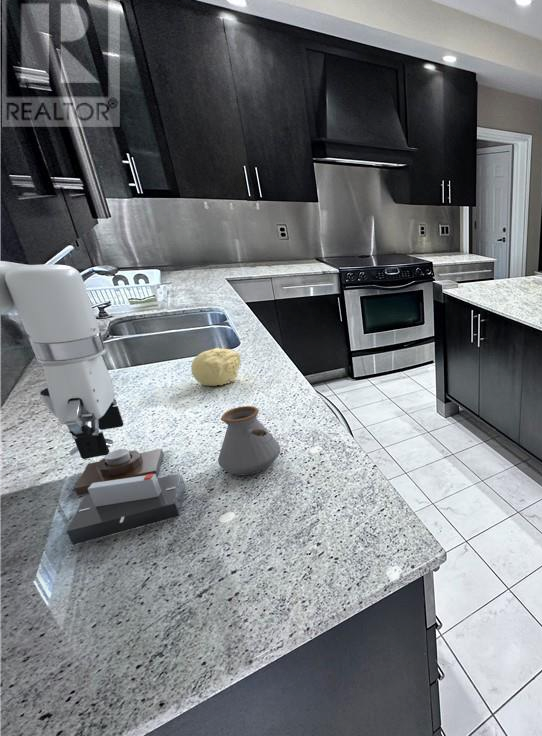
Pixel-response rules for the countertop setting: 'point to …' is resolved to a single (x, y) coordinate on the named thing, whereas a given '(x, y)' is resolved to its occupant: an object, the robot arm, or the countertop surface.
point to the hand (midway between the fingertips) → (104, 441)
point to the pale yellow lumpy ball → (216, 366)
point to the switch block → (120, 469)
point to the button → (117, 457)
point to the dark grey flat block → (126, 512)
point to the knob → (124, 490)
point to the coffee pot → (246, 443)
